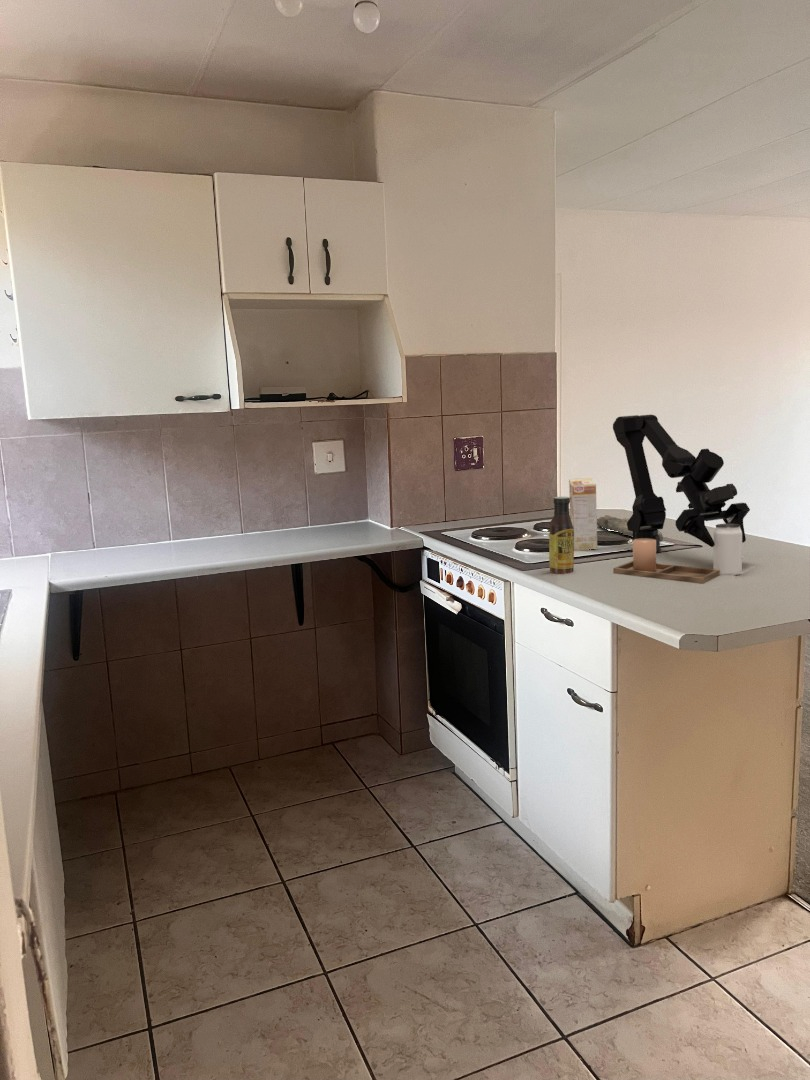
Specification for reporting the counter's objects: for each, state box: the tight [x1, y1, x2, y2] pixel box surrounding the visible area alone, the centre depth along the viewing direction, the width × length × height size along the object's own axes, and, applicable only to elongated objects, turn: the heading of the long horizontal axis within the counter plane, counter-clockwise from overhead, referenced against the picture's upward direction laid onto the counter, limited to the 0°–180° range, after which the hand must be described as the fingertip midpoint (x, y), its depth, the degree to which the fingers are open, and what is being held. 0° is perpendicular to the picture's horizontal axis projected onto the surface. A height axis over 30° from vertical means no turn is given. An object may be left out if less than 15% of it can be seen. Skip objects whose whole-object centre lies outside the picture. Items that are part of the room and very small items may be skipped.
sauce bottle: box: [548, 496, 575, 575], centre depth 208 cm, size 6×6×20 cm
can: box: [712, 523, 743, 577], centre depth 198 cm, size 6×6×12 cm
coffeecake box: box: [568, 477, 598, 551], centre depth 242 cm, size 15×7×20 cm, turn 172°
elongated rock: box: [597, 514, 664, 542], centre depth 258 cm, size 35×5×10 cm
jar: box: [632, 538, 657, 572], centre depth 203 cm, size 6×6×8 cm
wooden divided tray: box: [612, 560, 721, 585], centre depth 200 cm, size 23×10×2 cm, turn 47°
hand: (729, 543), depth 197 cm, fingers open, 9 cm apart
